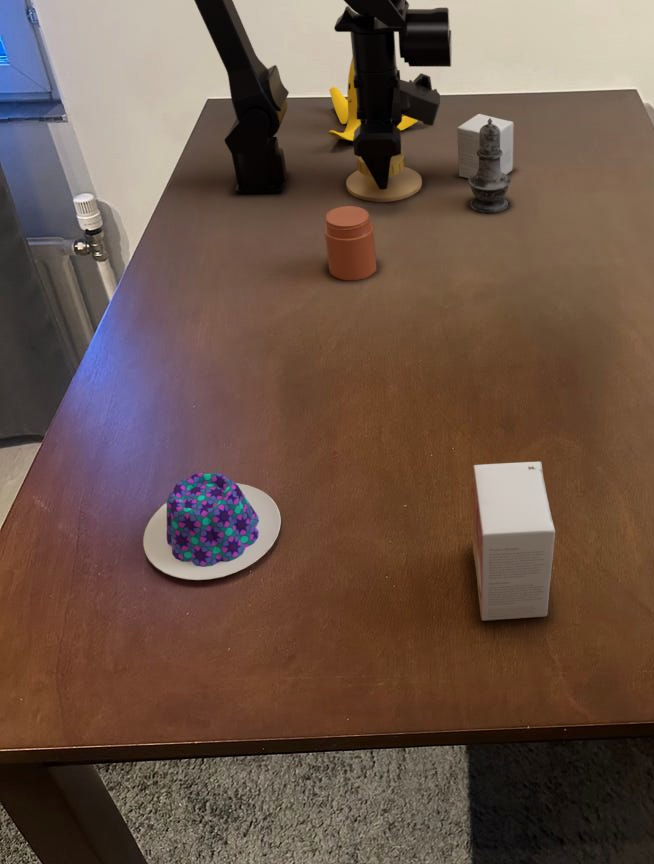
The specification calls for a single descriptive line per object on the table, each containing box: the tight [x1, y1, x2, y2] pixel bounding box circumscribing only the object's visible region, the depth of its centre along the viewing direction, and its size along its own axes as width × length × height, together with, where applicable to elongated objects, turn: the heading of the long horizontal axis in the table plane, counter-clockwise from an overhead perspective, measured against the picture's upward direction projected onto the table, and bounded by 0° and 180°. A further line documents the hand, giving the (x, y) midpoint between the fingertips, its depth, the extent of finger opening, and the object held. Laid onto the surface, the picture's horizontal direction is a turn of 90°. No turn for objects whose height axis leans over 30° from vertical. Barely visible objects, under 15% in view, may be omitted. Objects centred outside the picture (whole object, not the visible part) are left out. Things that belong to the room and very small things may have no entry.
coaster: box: [345, 166, 423, 203], centre depth 130 cm, size 11×11×1 cm
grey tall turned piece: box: [467, 118, 512, 214], centre depth 121 cm, size 6×6×12 cm
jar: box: [323, 205, 378, 281], centre depth 111 cm, size 6×6×7 cm
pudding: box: [142, 472, 282, 581], centre depth 78 cm, size 12×12×5 cm
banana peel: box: [328, 56, 419, 142], centre depth 139 cm, size 16×19×17 cm
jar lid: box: [356, 150, 405, 177], centre depth 128 cm, size 7×7×2 cm
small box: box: [472, 461, 556, 622], centre depth 72 cm, size 8×6×10 cm
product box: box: [456, 113, 514, 179], centre depth 130 cm, size 6×6×7 cm
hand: (384, 178), depth 130 cm, fingers closed on jar lid, 6 cm apart
